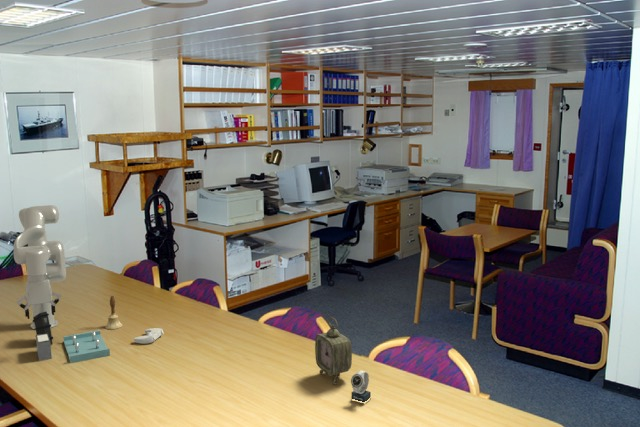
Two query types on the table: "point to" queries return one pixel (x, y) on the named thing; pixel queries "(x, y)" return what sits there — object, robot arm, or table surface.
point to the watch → (360, 386)
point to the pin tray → (85, 346)
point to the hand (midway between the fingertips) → (40, 316)
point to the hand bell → (113, 317)
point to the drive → (43, 346)
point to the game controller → (149, 336)
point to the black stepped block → (43, 324)
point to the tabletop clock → (333, 352)
